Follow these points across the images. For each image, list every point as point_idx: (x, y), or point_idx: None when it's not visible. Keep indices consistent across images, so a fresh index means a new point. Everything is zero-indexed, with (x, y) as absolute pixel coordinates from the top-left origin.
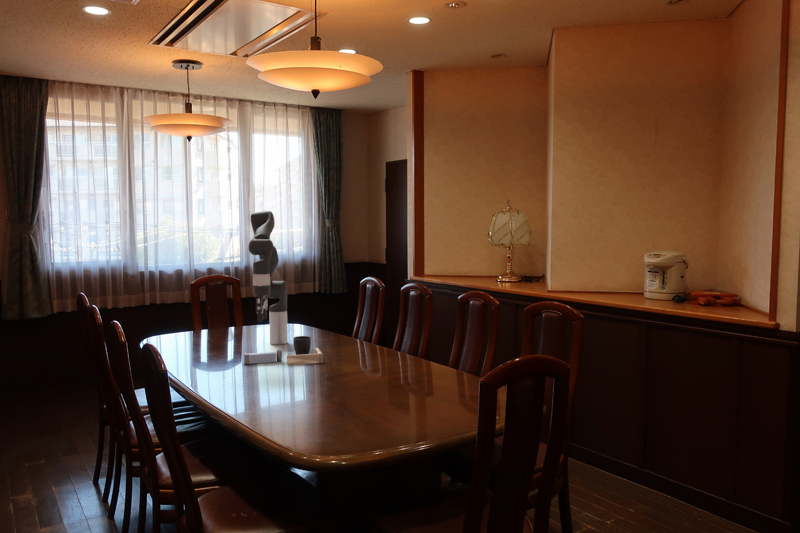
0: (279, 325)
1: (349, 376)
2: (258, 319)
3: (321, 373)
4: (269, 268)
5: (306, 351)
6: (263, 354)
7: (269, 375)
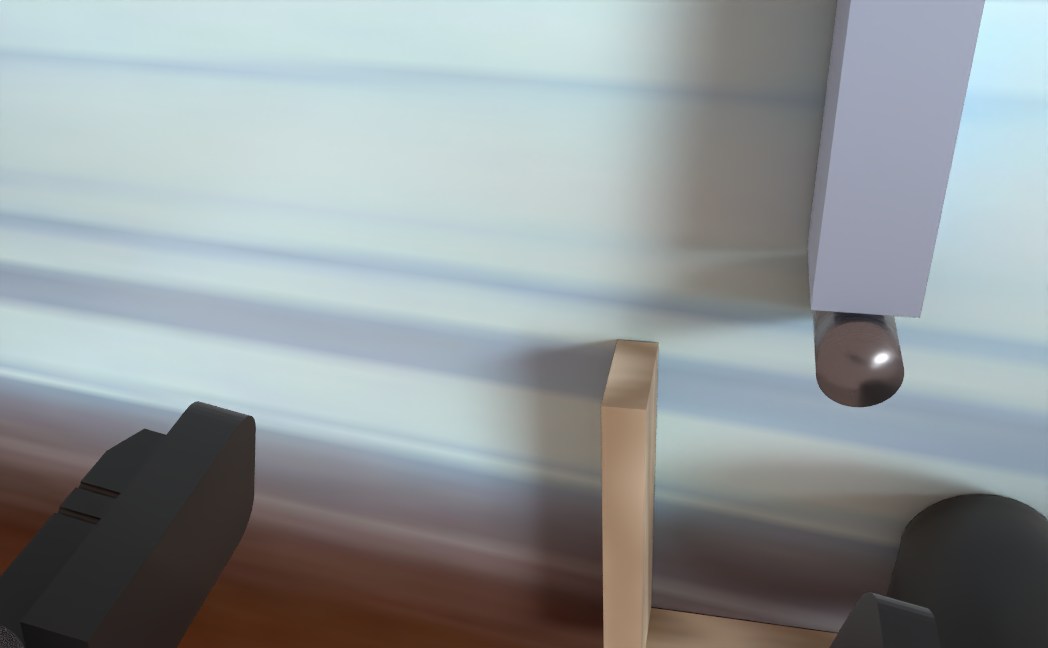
0: None
1: None
2: (105, 467)
3: None
4: None
5: None
6: (833, 125)
7: (148, 96)
